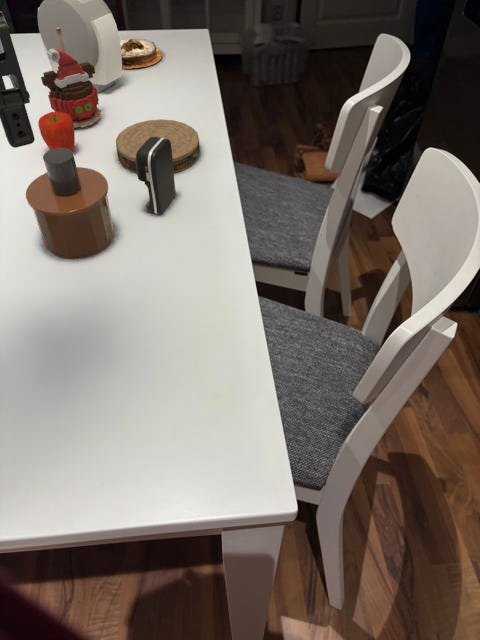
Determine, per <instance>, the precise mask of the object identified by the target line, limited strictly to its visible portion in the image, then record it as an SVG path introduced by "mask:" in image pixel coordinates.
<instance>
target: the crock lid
mask: <svg viewBox="0 0 480 640" xmlns="http://www.w3.org/2000/svg"><path fill="white" fill-rule="evenodd" d="M42 161H43V164H44V167H45V170H46V172H45V173H43V174H41V175H39V176H38V177H36V178H35V179H33V180H32V181H31V182H30V183H29V184H28V186H27V188H26V191H25V199H26V202H27V204H28V206H29V207H30V208H31V209H32V210H33V209H34V210H36V211H37V212H40V213H43V214H46V215H52V216H66V215H73V214H78V213H81V212H84V211H87V210H89V209H91V208H93V207H95V206H96V205H98V204H99V203H100V202H102V201H103V199H104V198H105V197H106V195H107V196H108V192H109V183H108V181H107V179H106V177H105V176H104V175H103V174H102V173H100V171H97V170H94V169H92V168H88V167H81V166H77V163H76V159H75V155H74V152H73V150H72V151H71V150H69V149H66V148H55V149H52V150H50V149H49V150H48V151H46V152H44V154H43V155H42Z"/></svg>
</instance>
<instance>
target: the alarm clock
mask: <svg viewBox="0 0 480 640" xmlns="http://www.w3.org/2000/svg"><path fill="white" fill-rule="evenodd" d="M37 27H38V32H39V34H40V37H41V41H42V43H43V46H44V47H43V48H44V51H45V53H46V56H47V60H48V61H49V64H50V67H51V69H52V70H51V71H54V72H55V73H57V70H58V66H59V63H58V61H56V62H53V61H52V60H51V59H50V58H48V54H47V52H49V51H48V50H49V49H54V50H58V49H59V50H60V51H61V49H60V45H59V41H58V36H57V32H56V28H58V27H59V28H60V29H61V33H62V38H63V42H64V47H65V51H66V53H67V54H68V55H70V56H71V57H73V58H74V59H75V60H77V62H78V63H79V64H81V63H85V62H88V63H90V65H93V66H94V69H95V74H92V75H93V78H89V79H88V80H89V81H91V82H92V85H93V86H94V87H95V88H96V89H97V93H101V92H102V91H104V90H106V89H108V88H109V87H111V86H113V85H114V81H116V80H118V79H120V78H121V77H123V69H122V57H121V46H120V40H121V39H120V34H119V29H118V26H117V23H116V20H115V18H114V16H113V12H112V11H111V9H110V7H109V6H108V5H107V3H106V2H105V1H104V0H43V1H42V2H41V3H40V5H39V7H37Z"/></svg>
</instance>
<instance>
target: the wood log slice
mask: <svg viewBox="0 0 480 640" xmlns="http://www.w3.org/2000/svg"><path fill="white" fill-rule="evenodd" d="M150 137H160V138H166V139H168V140H170V143H171V148H172V157H173V169H174V174H177V173H181V172H183V171H185V170H187V169H189V168H191V167H193V165H194V164H195V163H196V162H197V161H198V160H199V158H200V154H201V148H200V136H199V132H198V131H196V129H194V128H193V127H192V126H191V125H188V124H186V123H185V122H181V121H178V120H173V119H150V120H149V119H148V120H144V121H140V122H136V123H134V124H131V125H129V126H127V127H126V128H124V129H123V130H122V131H120V132H119V133H118V135H117V137H116V139H115V148H116V153H117V159H118V162H119V163H120V164H121V166H122V167H123V168H124V169H126V170H127V171H130V172H131V173H134V174H137V169H136V153H137V151H138V150H139V149H140V147H141V146H142V145H143V144H144V143H145V142H146V141H147V140H148V139H149V138H150Z"/></svg>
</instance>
